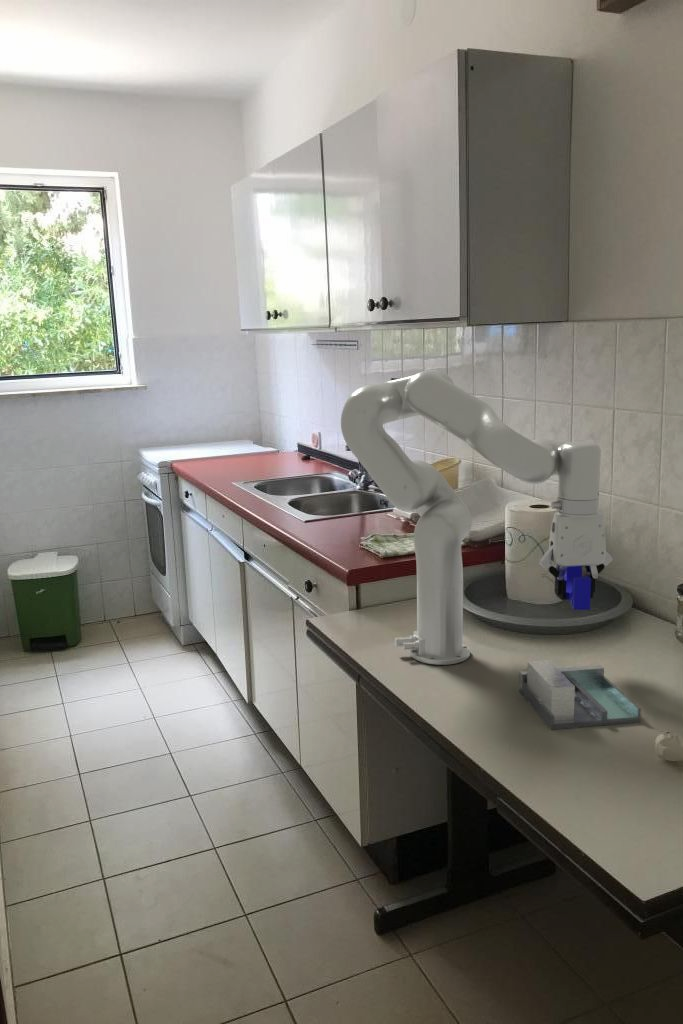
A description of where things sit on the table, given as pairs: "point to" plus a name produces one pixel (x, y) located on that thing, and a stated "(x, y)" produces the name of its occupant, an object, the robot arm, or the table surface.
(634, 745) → the table surface
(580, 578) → the blue curved block
